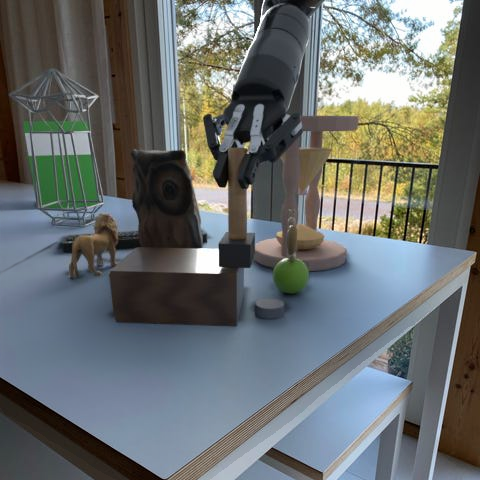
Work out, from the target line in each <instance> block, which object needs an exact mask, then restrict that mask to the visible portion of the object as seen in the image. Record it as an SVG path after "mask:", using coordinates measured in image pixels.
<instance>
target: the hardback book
mask: <svg viewBox="0 0 480 480" xmlns="http://www.w3.org/2000/svg"><path fill="white" fill-rule="evenodd" d="M32 121H33V120H31V124H32ZM62 121H63V120H62ZM62 121H61V120H60V121H59V120H58V121H57V122H58V123H59V124H60V125H61V123H62ZM83 121H84V123H85V125H86V127H87V129H88V131H89V127H88V120H83ZM45 122H46V123H47V124H48V126H49V127H50V128H51V130H52V131H58V130H59V127H58V125H57V124H56V123H55V121H54V120H52V121H51V120H45ZM45 122H44V121H43V120H42V121H41V120H34V123H33V128H32V132H39V131H50V129H49V128H48V126H47V125H46V124H45ZM73 122H74V120H65V122H64V124H63V126H62V128H63V130H64V131H70V129H71V126H72V124H73ZM22 125H23V131H24V135H25V136H24V137H25V143H26V148H27V155H28V160H29V167H30V174H31V178H32V186H33V190H34V191H33V192H34V193H35V184H34V173H33V162H32V151H31V140H30V126H29V120H27V121H25V120H24V121H22ZM86 127H85V126H84V124H83V122H82V120H80V121H79V120H76V121H75V123H74V125H73V128H72V130H71V131H87V129H86ZM72 133H73V132H72ZM90 134H91V135H92V132H91V133H90ZM32 135H33V144H34V151H35V159H36V166H37V173H38V180H39V188H40V195H41V202H42V205H46V204H49V203H52V202H55V201H57V199H56V188H55V178H54V168H53V158H52V148H51V139H50V133H32ZM64 135H65V141H66V147H67V154H68V160H69V167H70V173H71V180H72V186H73V193H74V200H83V197H82V192H81V187H80V182H79V177H78V171H77V166H76V161H75V156H74V151H73V145H72V140H71V135H70V134H64ZM52 136H53V146H54V156H55V166H56V176H57V186H58V197H59V200H67V196H66V189H65V182H64V175H63V168H62V161H61V154H60V147H59V140H58V134H54V133H52ZM73 138H74V143H75V149H76V154H77V159H78V164H79V169H80V175H81V180H82V185H83V190H84V195H85V200H98V198H97V192H96V185H95V178H94V172H93V165H92V159H91V152H90V145H89V139H88V133H73ZM60 139H61V146H62V153H63V160H64V167H65V174H66V181H67V188H68V196H69V200H72V196H71V189H70V183H69V176H68V170H67V163H66V157H65V150H64V143H63V137H62V134H60ZM37 191H38V190H37ZM34 198H35V199H36V195H35V194H34ZM38 202H39V198H38ZM97 203H98V202H86V205H87V207H89V206H92V205H95V204H97ZM60 205H61V206H62V208H63V209H67V202H62V203H60ZM39 206H40V205H39ZM75 206H76V208H85V207H84V202H75ZM44 208H57V209H61V207H60V206H59V204H58V203H56V204H53V205H50V206H47V207H44ZM71 208H73V202H69V209H71Z"/></svg>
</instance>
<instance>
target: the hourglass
mask: <svg viewBox="0 0 480 480" xmlns="http://www.w3.org/2000/svg"><path fill="white" fill-rule="evenodd" d="M300 119H301V123H302V128H303V132H310V134H309V135H310V136H309V147H301V135H300V136H299V137H298V138H297V139H296V141H295V142H294V143H293V144H292V145H291V146H290V147H289V148H288V149H287V150H286V151H285V152H284V153H283V155H282V156H281V157H280V158H279V159H280V160H281V161H282V164H283V167H282V184H283V188H284V193H285V196H284V197H285V198H284V202H283V204H282V207H281V212H280V223H281V231H278V232H276V234H275V235H276V237H274V238H268V239H267V238H266V239H264V240H261V241H258V242H257V243H255V255H254V258H253V260H254V262H256V263H258V264H260V265H261V266H263V267H266V268H271V269H274V268H275V266H276V265H277V264H278V263H279V262H280V261H281V260H283V259H285V258H288V256H287V248H286V236H287V231H288V223H287V222H288V219H289V213H288V210H289V209H290V210H291V211H293V210H296V212H295V213H293V212H291V213H290V218H291V217H293V218H294V219H295V220H296V224H295V226H296V227H297V254H296V258H297V259H299V260H301V261H302V262H304V263H305V265H306V266H307V268H308V271H309V272H320V271H321V272H322V271H327V270H332V269H336V268H339V267H340V266H342V265H344V264H345V262H346V258H347V250H348V249H347V248H346V247H345V246H344V245H342V244H341V243H339V242H336V241H333V240H329V239H325V234H324V233H323V232H320V231H318V218H319V213H320V208H321V197H320V193H319V188H318V186H319V183H320V180H321V178H322V177H321V176H322V173H323V166H324V165H325V164H326V162H327V160H328V159H329V157H330V156H331V153H332V151H333V150H332V149H333V148H329V147H328V148H326V147H323V138H324V132H353V131H354V132H355V131H357V130H358V129H359V120H360V119H359V116H357V115H300ZM307 188H308V190H307ZM296 194H297V195H298V196H305V200H304V216H305V217H304V218H305V223H304V224H303V223H299V208H298V203H297V198H296ZM298 223H299V224H298Z"/></svg>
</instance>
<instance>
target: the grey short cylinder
mask: <svg viewBox="0 0 480 480" xmlns="http://www.w3.org/2000/svg"><path fill="white" fill-rule="evenodd" d="M254 302H255V303H254V314H255V316H256V317H258V318H262V319H265V320H275V319H279V318H282V317H283V316H284V315H285V302H284V301H283V300H282V299H281V300H280V299H278V298H270V297H269V298H260V299H257V300H256V301H254Z"/></svg>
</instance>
